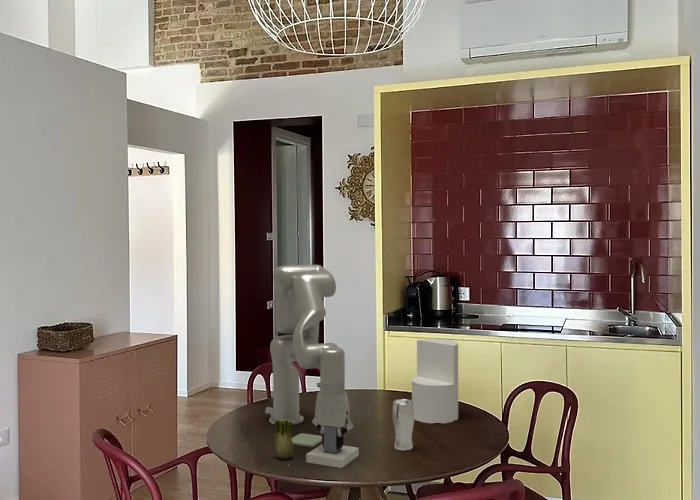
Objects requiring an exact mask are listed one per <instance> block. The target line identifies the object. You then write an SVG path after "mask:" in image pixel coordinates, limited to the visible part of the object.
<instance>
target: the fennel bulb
mask: <svg viewBox="0 0 700 500" xmlns="http://www.w3.org/2000/svg"><path fill="white" fill-rule="evenodd" d="M292 426H293V425H292V422H291V421H288V420H287V419H285V422H284V420H278V419H276V420H275V424H274V428H275V429H274V447H275V452H276V456H277V457H278V458H279V460H288V459H291V458H292V457H293V455H294V444H293V441H292V438H293V437H292Z"/></svg>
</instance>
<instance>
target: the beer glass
mask: <svg viewBox="0 0 700 500" xmlns="http://www.w3.org/2000/svg"><path fill="white" fill-rule="evenodd" d="M392 423H393V427H394V434H395V436H394V437H395V441H394V446H393V448H394V449H395V450H397V451H404V452H405V451H406V450H407V451H411V450H413V448H414V445H413V429H414V425H415V419H414V402H413V401H412V399H407V398H406V399H405V398H400V399H395V400H393V403H392ZM407 451H406V452H407Z"/></svg>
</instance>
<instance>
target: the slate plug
mask: <svg viewBox="0 0 700 500" xmlns="http://www.w3.org/2000/svg"><path fill="white" fill-rule="evenodd" d="M337 436H338V433H337V427H330V426H324V453H331V454H337V453H339V452H340V451H342V450H341V448H340V449H337V448H336V437H337Z"/></svg>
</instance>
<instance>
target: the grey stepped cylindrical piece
mask: <svg viewBox="0 0 700 500" xmlns="http://www.w3.org/2000/svg"><path fill="white" fill-rule="evenodd" d="M411 400H412V401H413V402H414V421H418V422H420V423H425V424H433V423H441V424H450V423H453V421H454V422H455V420H456V421H457V420H458V419H459V342H458V341H455V340H452V339H451V340H450V339H445V338H444V339H442V338H425V339H423V338H422V339H416V377H415V376H414V377H413V378H412V379H411ZM449 422H450V423H449Z"/></svg>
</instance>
